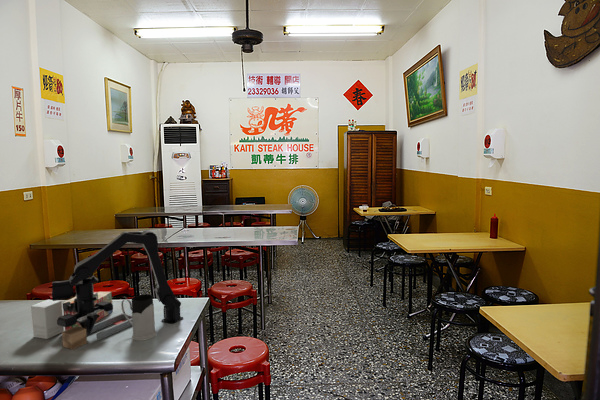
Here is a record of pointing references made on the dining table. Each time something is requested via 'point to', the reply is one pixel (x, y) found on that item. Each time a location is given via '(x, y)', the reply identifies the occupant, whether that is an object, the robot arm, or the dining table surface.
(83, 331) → the tan cube
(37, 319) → the supplement box
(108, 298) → the stack of blocks
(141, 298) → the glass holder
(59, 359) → the dining table surface
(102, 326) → the trap channel
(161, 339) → the dining table surface
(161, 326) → the dining table surface
